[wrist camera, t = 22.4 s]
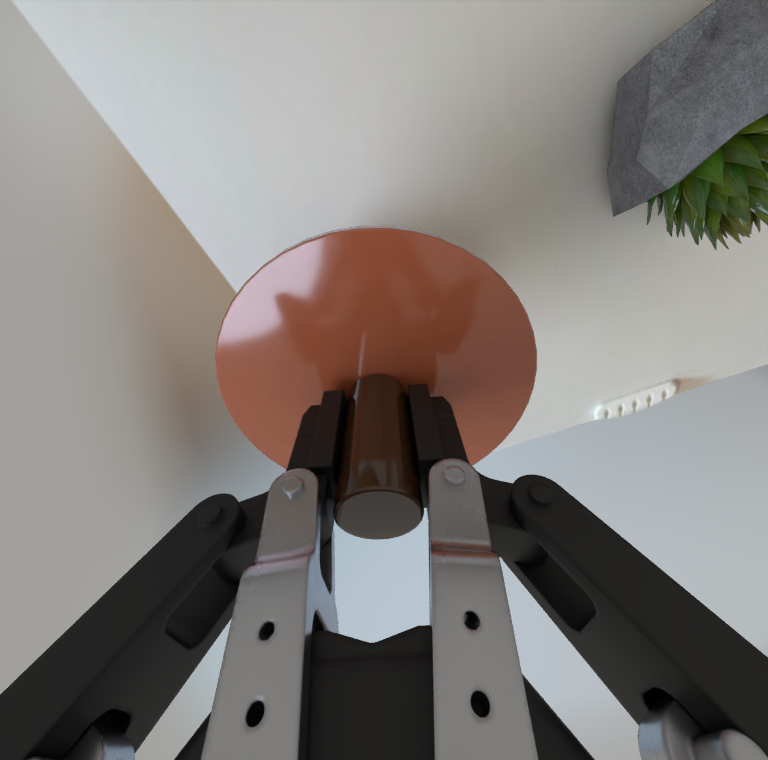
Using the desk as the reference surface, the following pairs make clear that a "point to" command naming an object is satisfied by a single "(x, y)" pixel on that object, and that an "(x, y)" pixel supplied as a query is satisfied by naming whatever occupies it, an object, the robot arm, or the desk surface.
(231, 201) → the desk surface
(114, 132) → the desk surface
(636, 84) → the potted plant
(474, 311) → the lid
